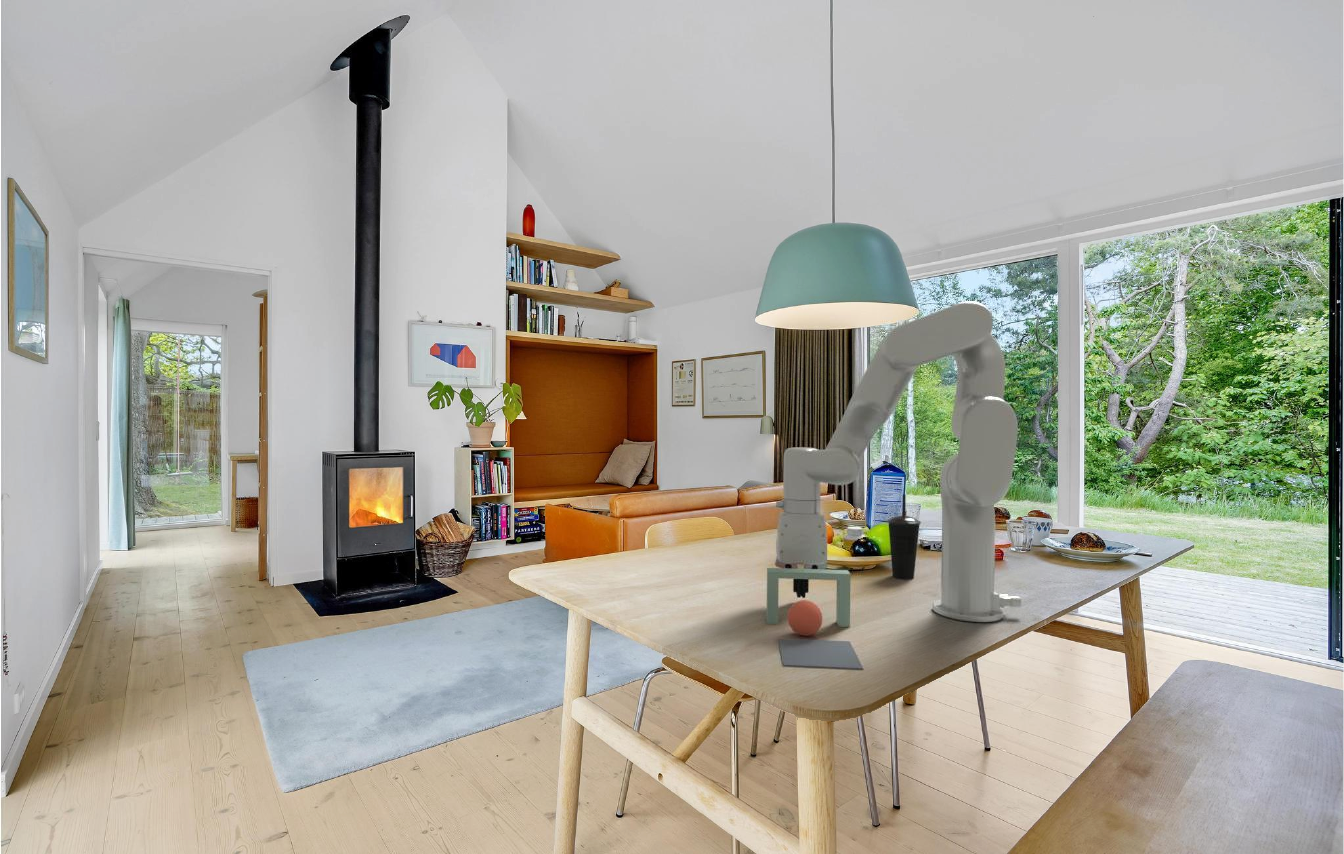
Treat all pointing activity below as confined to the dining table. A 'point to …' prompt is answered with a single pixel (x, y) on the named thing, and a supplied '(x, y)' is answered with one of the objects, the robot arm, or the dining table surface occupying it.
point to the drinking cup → (903, 544)
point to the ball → (805, 618)
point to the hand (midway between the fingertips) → (800, 595)
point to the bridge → (817, 574)
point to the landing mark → (818, 654)
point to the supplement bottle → (852, 537)
